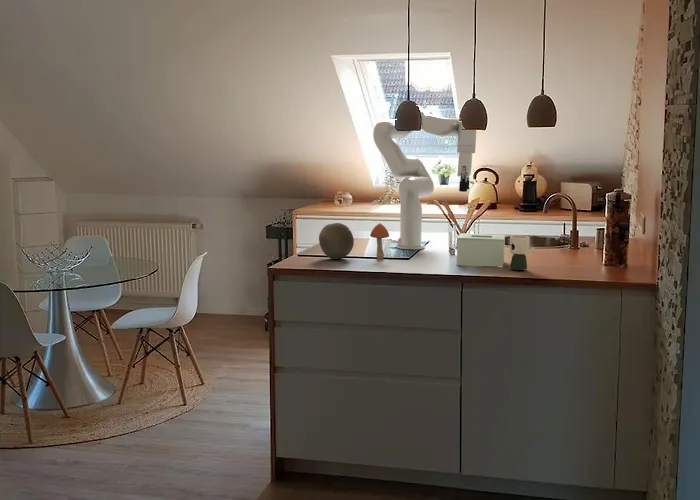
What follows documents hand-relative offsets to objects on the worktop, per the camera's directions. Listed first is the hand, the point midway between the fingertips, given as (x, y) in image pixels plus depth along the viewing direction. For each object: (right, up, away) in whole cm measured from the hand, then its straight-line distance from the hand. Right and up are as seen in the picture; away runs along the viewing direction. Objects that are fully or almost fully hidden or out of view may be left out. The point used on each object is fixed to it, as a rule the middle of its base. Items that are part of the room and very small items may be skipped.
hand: (464, 190), depth 337 cm
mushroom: (-36, -29, -7) cm, 47 cm away
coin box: (+4, -30, -15) cm, 34 cm away
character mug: (+17, -33, -29) cm, 47 cm away
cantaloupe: (-53, -29, -8) cm, 61 cm away
